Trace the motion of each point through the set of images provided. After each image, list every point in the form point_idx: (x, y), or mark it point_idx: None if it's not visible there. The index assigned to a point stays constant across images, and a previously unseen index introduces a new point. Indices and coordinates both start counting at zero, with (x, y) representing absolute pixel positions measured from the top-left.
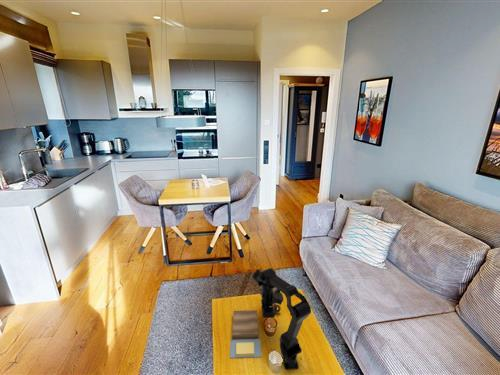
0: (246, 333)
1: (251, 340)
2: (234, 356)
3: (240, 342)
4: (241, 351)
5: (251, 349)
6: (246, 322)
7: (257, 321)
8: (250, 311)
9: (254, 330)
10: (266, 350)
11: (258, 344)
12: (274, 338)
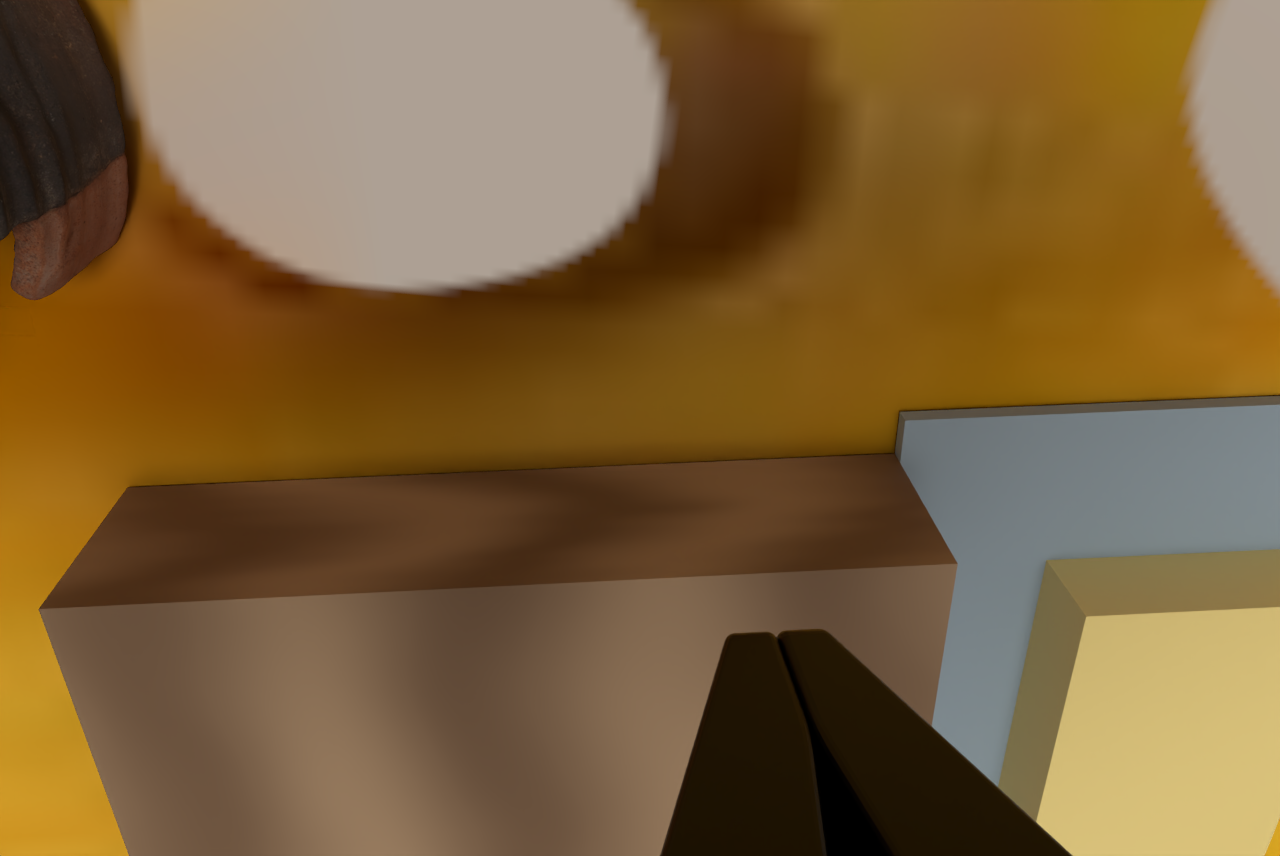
0: None
1: None
2: None
3: None
4: (1234, 818)
5: (1251, 653)
6: (559, 835)
7: (517, 591)
8: (144, 769)
9: None
10: (1230, 272)
11: (1050, 462)
12: (927, 14)
